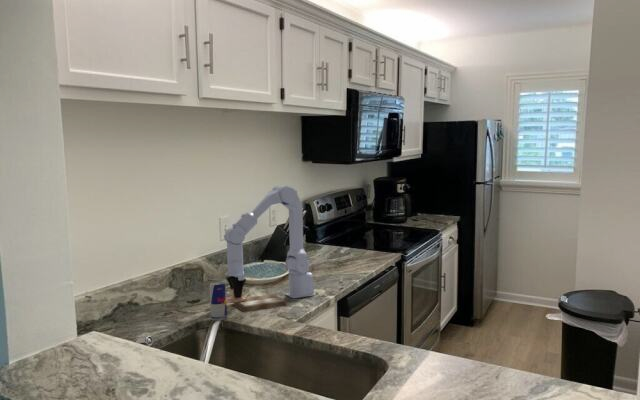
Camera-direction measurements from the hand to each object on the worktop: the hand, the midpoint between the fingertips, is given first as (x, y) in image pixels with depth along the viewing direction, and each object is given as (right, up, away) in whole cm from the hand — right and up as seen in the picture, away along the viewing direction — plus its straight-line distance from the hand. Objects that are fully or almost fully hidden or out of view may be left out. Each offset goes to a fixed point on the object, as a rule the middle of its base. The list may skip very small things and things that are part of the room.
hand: (236, 296), depth 182 cm
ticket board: (+8, -3, 0) cm, 9 cm away
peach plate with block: (0, -1, 0) cm, 1 cm away
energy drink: (-3, -4, -17) cm, 18 cm away
